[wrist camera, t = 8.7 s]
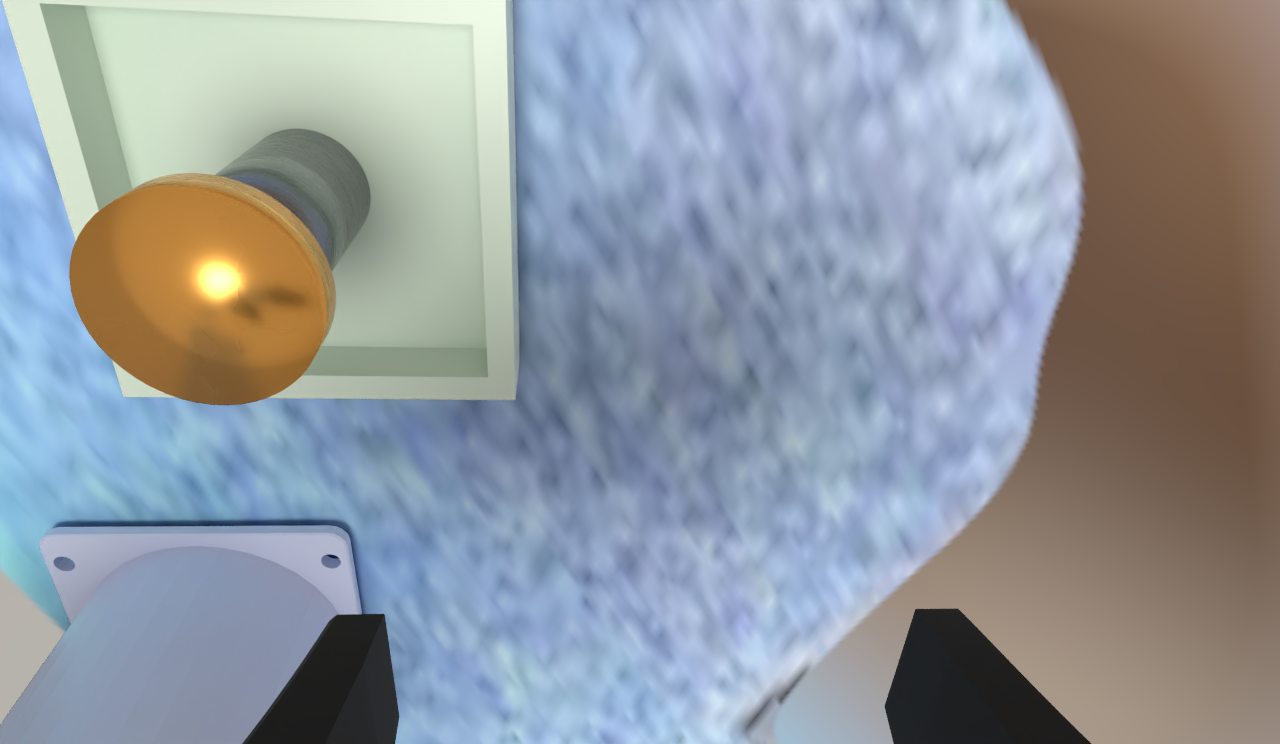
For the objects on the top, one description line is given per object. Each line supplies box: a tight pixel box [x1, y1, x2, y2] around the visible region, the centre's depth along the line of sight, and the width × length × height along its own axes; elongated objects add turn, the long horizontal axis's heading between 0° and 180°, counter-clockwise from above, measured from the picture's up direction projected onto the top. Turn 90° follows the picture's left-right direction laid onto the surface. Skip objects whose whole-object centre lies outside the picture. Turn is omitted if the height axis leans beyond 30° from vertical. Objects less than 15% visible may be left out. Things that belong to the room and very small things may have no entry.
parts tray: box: [2, 0, 520, 400], centre depth 17 cm, size 9×9×2 cm
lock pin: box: [70, 129, 371, 405], centre depth 15 cm, size 4×4×6 cm
